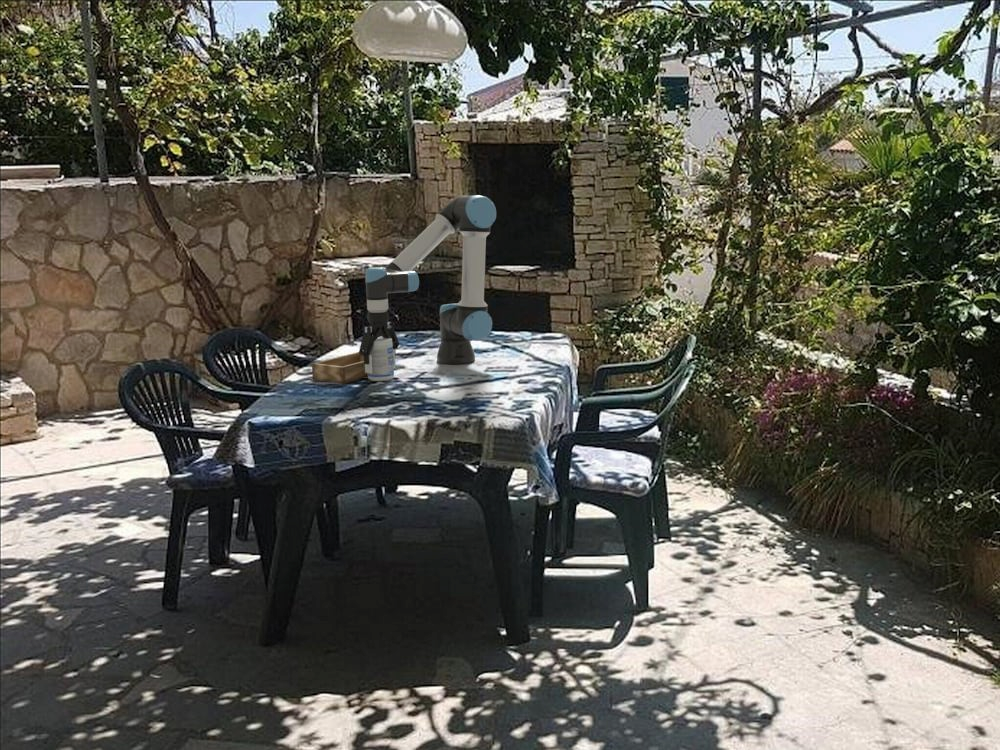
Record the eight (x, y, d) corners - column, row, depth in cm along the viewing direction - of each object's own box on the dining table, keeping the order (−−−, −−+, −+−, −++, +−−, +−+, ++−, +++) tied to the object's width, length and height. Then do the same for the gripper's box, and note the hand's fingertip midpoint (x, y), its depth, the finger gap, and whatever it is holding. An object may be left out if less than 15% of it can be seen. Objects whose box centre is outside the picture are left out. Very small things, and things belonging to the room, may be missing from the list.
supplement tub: (395, 380, 318) (393, 340, 315) (369, 382, 316) (367, 342, 313) (392, 375, 327) (390, 336, 324) (366, 377, 325) (364, 337, 322)
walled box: (390, 370, 335) (389, 355, 334) (343, 383, 314) (342, 367, 313) (360, 366, 343) (359, 351, 342) (312, 379, 322) (311, 363, 321)
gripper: (391, 306, 328) (394, 362, 333) (346, 314, 308) (350, 374, 313) (407, 307, 324) (409, 364, 329) (362, 316, 304) (366, 376, 309)
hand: (380, 369), depth 321 cm, fingers open, 12 cm apart
